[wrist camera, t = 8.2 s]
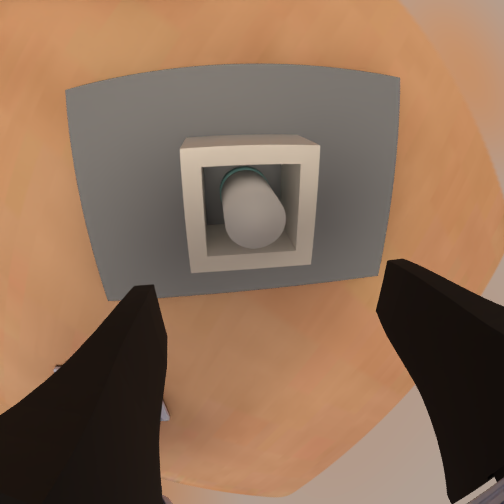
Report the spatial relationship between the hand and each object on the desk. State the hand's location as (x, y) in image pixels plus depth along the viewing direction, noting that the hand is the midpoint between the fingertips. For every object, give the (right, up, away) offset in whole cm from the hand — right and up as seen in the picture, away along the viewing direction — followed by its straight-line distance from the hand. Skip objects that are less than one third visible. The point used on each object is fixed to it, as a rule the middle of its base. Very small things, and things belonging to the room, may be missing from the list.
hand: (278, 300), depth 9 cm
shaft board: (-1, +5, +8) cm, 9 cm away
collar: (-1, +5, +7) cm, 8 cm away
